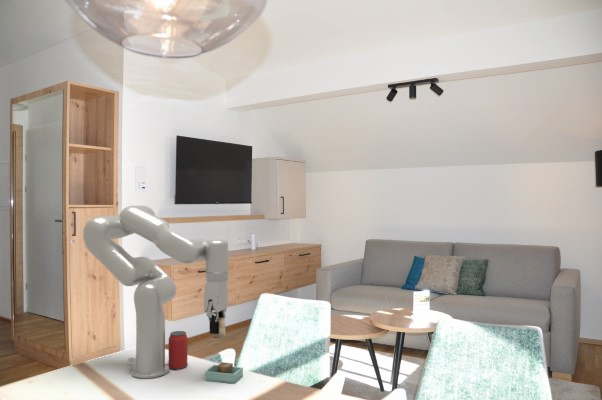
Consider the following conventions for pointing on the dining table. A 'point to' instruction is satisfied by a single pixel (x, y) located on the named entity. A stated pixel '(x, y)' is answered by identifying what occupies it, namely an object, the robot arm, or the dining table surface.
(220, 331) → the beech dowel
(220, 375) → the tote
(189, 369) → the dining table surface
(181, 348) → the beer can
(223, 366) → the walnut cube
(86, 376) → the dining table surface
